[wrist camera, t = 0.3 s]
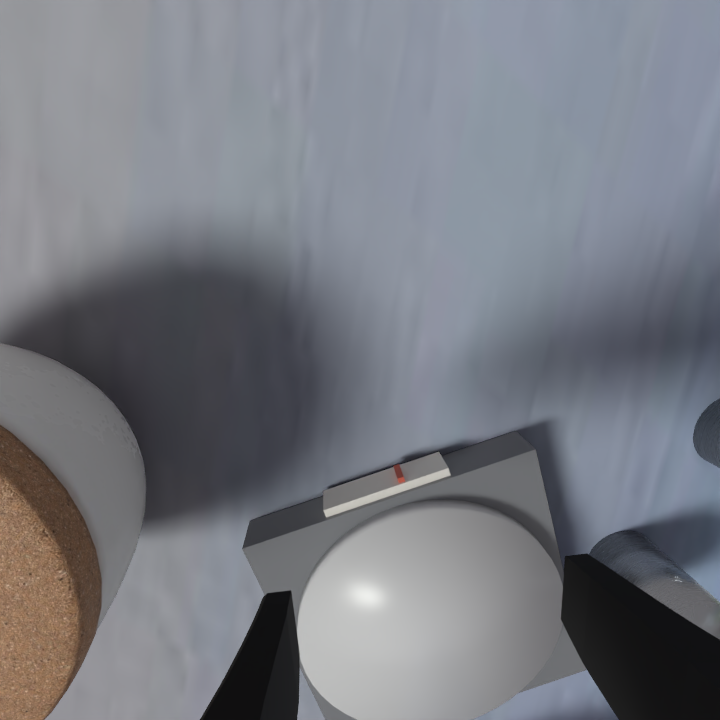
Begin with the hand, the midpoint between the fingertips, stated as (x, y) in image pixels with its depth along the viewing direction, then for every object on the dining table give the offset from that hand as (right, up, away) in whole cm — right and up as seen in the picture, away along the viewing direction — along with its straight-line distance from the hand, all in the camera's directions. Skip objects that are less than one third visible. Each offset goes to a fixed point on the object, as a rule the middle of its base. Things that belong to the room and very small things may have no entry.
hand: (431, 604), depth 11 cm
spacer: (+13, -5, +13) cm, 19 cm away
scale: (+1, -6, +12) cm, 13 cm away
